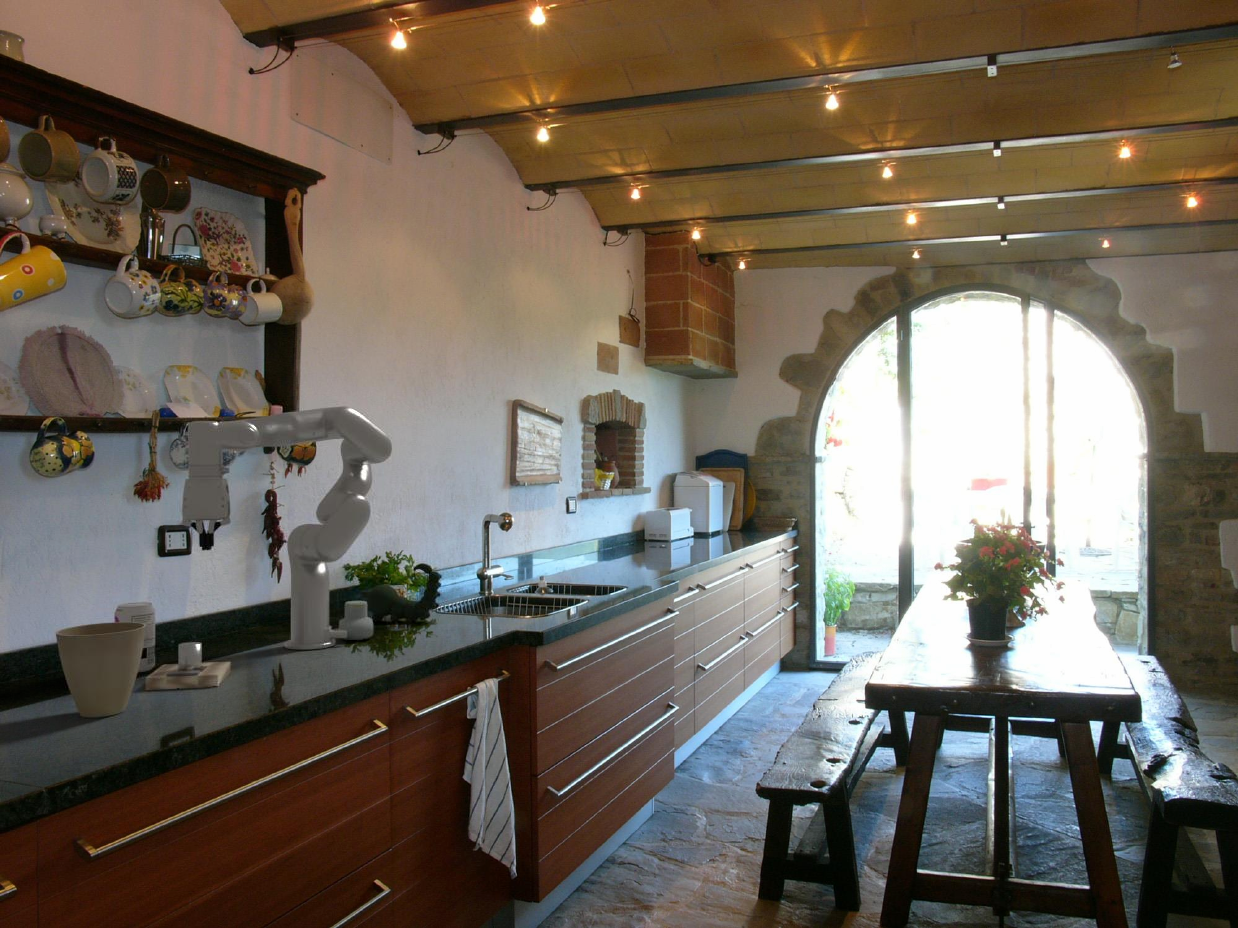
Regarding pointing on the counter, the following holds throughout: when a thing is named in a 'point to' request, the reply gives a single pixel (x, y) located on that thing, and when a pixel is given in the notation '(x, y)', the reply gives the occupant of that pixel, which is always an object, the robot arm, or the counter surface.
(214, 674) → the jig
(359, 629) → the air freshener
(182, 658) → the bushing
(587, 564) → the counter surface
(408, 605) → the toy figurine
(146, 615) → the supplement can
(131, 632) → the plant pot
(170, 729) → the counter surface
